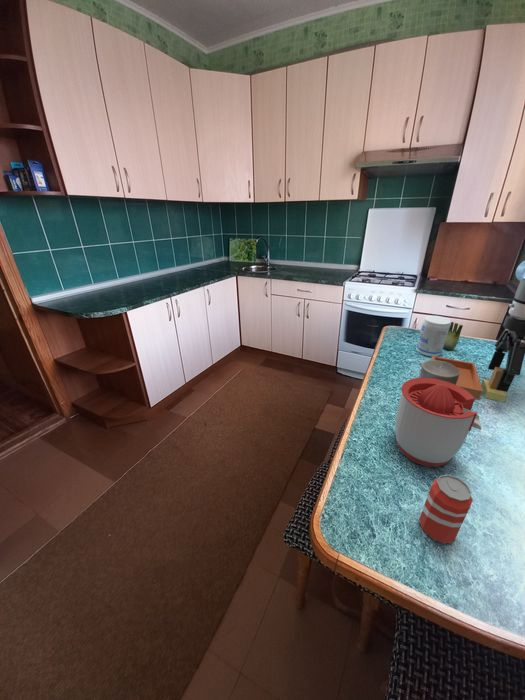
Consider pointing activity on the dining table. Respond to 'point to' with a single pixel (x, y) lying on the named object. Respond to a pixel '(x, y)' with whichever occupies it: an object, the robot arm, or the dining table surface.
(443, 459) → the citrus juicer
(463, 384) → the orange brown tray
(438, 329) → the supplement tub
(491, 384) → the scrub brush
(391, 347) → the dining table surface
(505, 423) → the dining table surface
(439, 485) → the beverage can
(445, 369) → the pillar candle
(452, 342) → the fennel bulb
